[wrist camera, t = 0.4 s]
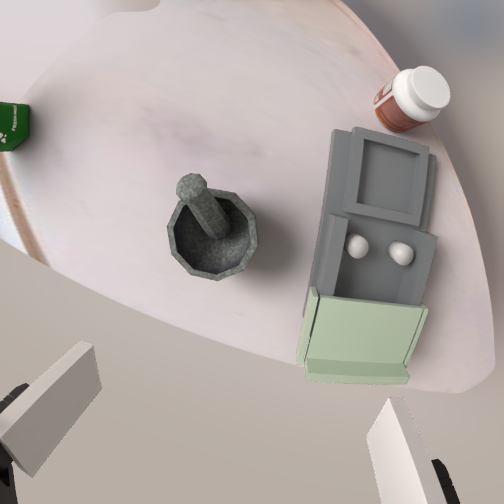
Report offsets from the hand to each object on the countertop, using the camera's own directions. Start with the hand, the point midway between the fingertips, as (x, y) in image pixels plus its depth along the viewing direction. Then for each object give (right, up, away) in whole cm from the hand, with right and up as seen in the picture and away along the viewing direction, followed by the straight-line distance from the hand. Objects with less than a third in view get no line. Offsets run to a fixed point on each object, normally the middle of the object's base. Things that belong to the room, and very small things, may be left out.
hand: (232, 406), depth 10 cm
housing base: (+16, +9, +23) cm, 30 cm away
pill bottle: (+19, +25, +20) cm, 37 cm away
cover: (+14, -3, +22) cm, 27 cm away
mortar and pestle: (-3, +10, +25) cm, 27 cm away
